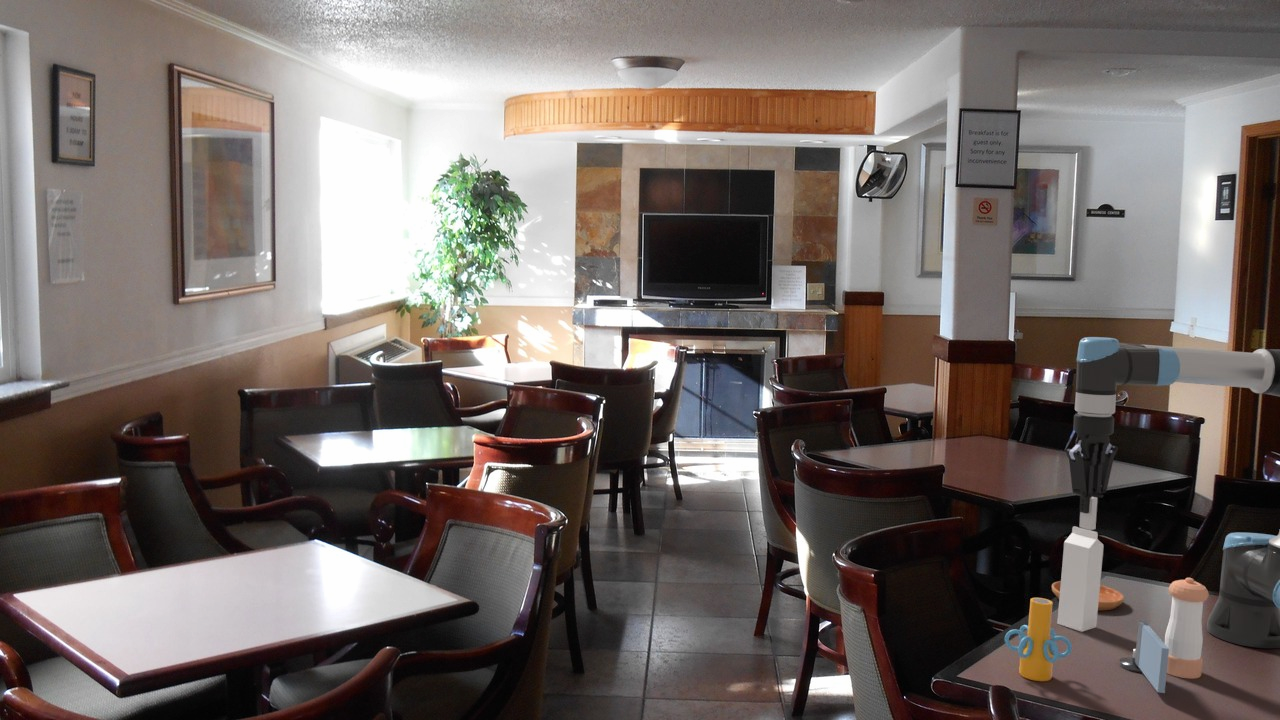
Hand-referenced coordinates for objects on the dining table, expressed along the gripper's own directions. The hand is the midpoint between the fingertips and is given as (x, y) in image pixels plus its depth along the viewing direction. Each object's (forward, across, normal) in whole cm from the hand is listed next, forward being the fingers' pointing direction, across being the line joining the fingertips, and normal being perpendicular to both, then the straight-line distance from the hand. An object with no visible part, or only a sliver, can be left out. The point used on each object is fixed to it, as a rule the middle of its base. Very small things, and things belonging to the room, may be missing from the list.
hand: (1087, 527), depth 216 cm
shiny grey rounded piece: (+27, -4, +10) cm, 29 cm away
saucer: (+28, -31, -23) cm, 47 cm away
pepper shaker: (+27, -11, +15) cm, 33 cm away
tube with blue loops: (+26, +19, +5) cm, 33 cm away
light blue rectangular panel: (+25, +1, +17) cm, 30 cm away
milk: (+27, -14, -12) cm, 32 cm away
